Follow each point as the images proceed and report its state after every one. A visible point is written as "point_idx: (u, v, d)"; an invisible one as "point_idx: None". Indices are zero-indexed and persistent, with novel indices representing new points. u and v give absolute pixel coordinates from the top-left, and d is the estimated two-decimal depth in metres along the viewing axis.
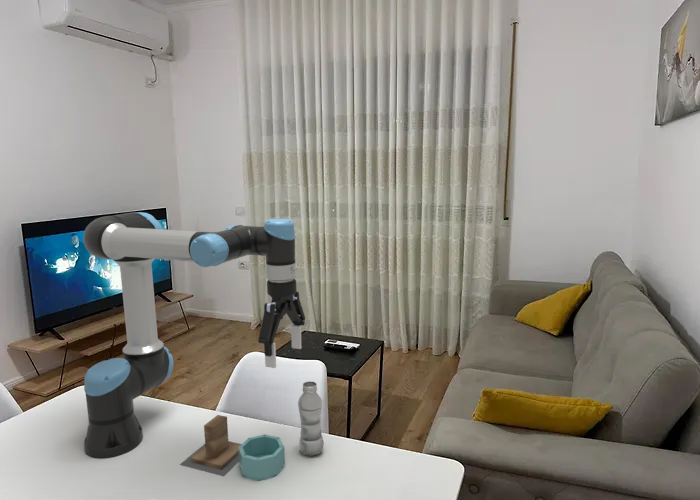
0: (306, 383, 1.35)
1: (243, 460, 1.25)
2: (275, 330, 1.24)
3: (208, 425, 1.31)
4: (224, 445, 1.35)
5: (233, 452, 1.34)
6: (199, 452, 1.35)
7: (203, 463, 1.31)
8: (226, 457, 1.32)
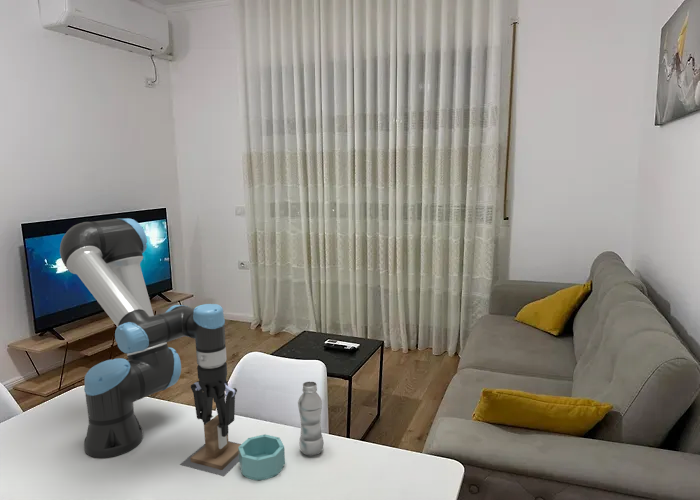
0: (306, 383, 1.35)
1: (243, 460, 1.25)
2: (204, 410, 1.33)
3: (208, 425, 1.31)
4: None
5: (233, 452, 1.34)
6: (199, 452, 1.35)
7: (203, 463, 1.31)
8: (226, 457, 1.32)
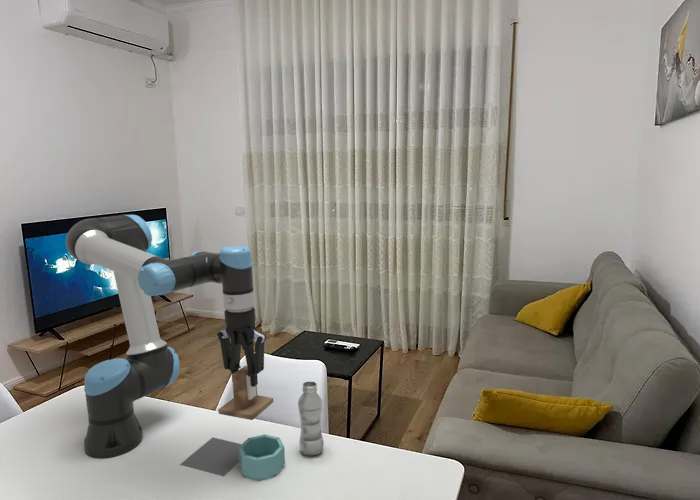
0: (306, 383, 1.35)
1: (243, 460, 1.25)
2: (232, 359, 1.26)
3: (236, 374, 1.24)
4: None
5: (263, 404, 1.28)
6: (227, 404, 1.28)
7: (232, 414, 1.24)
8: (256, 408, 1.25)
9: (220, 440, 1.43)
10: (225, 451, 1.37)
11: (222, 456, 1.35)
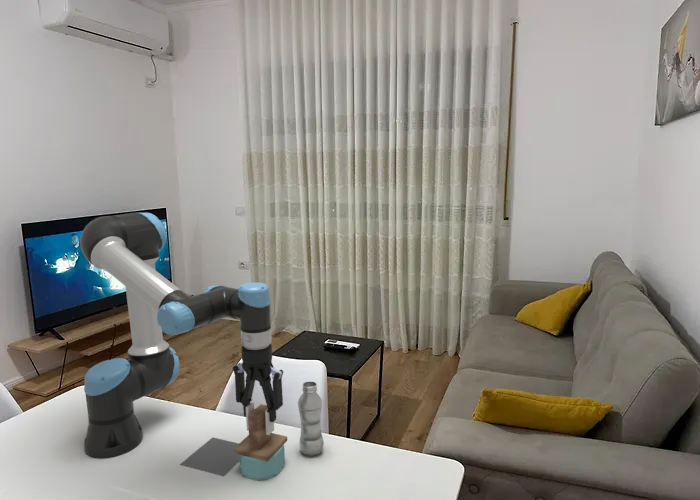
0: (306, 383, 1.35)
1: (243, 460, 1.25)
2: (245, 393, 1.26)
3: (252, 414, 1.25)
4: (268, 436, 1.29)
5: (277, 443, 1.28)
6: (242, 443, 1.29)
7: (247, 454, 1.25)
8: (271, 449, 1.26)
9: (220, 440, 1.43)
10: (225, 451, 1.37)
11: (222, 456, 1.35)
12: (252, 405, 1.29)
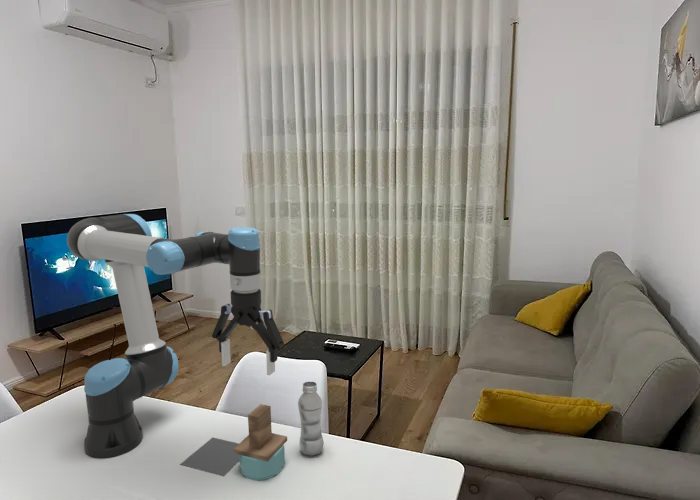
0: (306, 383, 1.35)
1: (243, 460, 1.25)
2: (225, 332, 1.28)
3: (252, 414, 1.25)
4: (268, 436, 1.29)
5: (277, 443, 1.28)
6: (242, 443, 1.29)
7: (247, 454, 1.25)
8: (271, 449, 1.26)
9: (220, 440, 1.43)
10: (225, 451, 1.37)
11: (222, 456, 1.35)
12: (228, 341, 1.30)
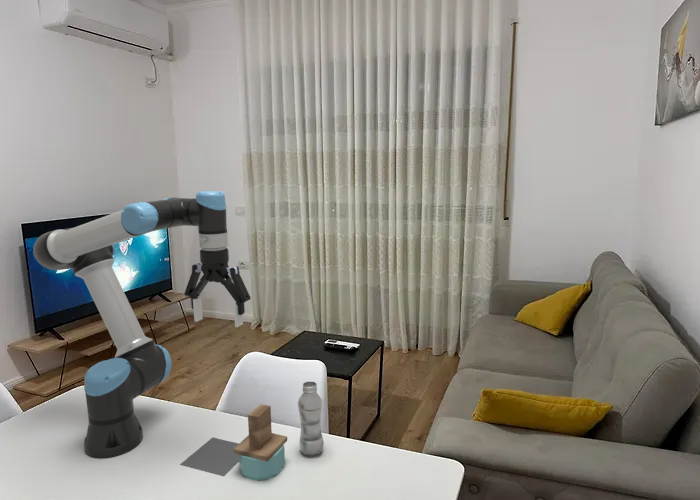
0: (306, 383, 1.35)
1: (243, 460, 1.25)
2: (196, 289, 1.38)
3: (252, 414, 1.25)
4: (268, 436, 1.29)
5: (277, 443, 1.28)
6: (242, 443, 1.29)
7: (247, 454, 1.25)
8: (271, 449, 1.26)
9: (220, 440, 1.43)
10: (225, 451, 1.37)
11: (222, 456, 1.35)
12: (199, 299, 1.41)
